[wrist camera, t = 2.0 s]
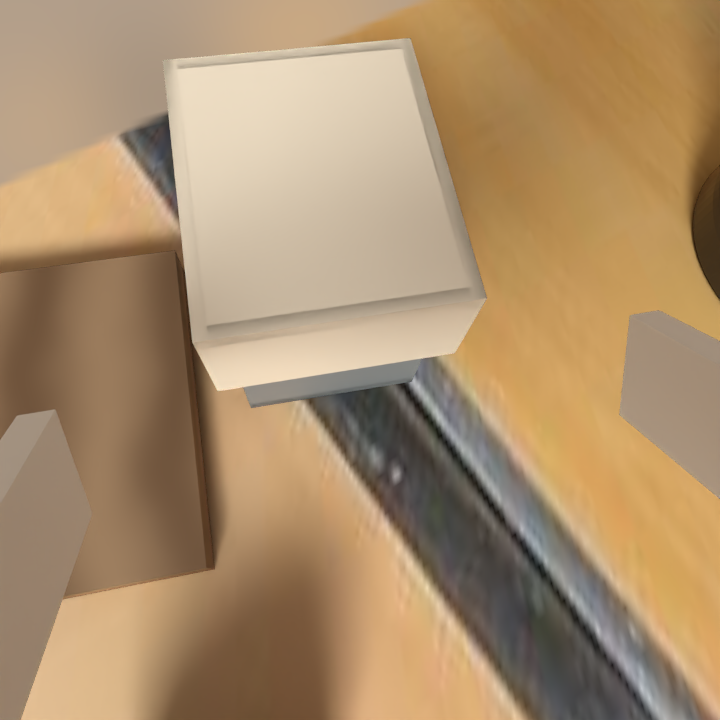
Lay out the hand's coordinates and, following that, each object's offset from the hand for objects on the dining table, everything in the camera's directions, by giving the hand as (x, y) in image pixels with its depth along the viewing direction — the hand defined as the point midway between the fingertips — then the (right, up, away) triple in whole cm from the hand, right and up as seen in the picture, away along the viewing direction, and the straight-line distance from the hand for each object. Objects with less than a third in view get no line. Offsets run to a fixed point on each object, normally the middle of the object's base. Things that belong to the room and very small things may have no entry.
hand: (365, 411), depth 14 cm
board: (-14, -2, +14) cm, 20 cm away
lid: (-2, +6, +12) cm, 14 cm away
